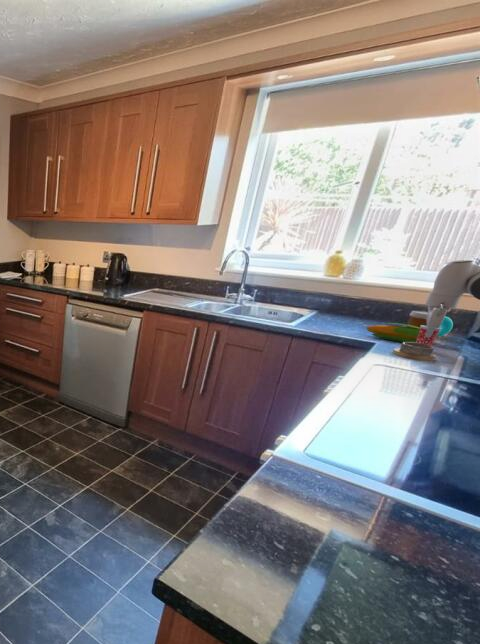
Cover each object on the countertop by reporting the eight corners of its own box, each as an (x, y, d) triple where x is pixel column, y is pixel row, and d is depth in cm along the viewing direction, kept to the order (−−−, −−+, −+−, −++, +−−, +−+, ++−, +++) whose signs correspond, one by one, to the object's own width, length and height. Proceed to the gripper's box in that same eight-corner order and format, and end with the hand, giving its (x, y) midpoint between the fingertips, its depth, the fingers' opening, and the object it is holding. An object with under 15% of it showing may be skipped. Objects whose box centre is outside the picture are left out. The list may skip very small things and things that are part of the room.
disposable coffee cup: (431, 342, 187) (444, 316, 182) (402, 339, 192) (414, 313, 187) (425, 338, 194) (436, 312, 190) (397, 334, 199) (408, 309, 195)
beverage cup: (413, 345, 181) (428, 312, 176) (434, 348, 176) (449, 315, 171) (409, 347, 178) (423, 314, 172) (430, 350, 173) (445, 317, 168)
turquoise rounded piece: (419, 335, 199) (429, 314, 195) (410, 331, 207) (419, 311, 204) (448, 338, 195) (458, 317, 191) (437, 334, 203) (446, 313, 200)
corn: (430, 328, 178) (368, 319, 191) (422, 346, 180) (361, 336, 194) (431, 327, 183) (370, 318, 196) (423, 344, 185) (363, 334, 199)
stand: (434, 356, 167) (439, 345, 165) (435, 363, 159) (440, 351, 157) (393, 349, 174) (397, 339, 173) (391, 355, 167) (396, 344, 165)
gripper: (454, 306, 161) (439, 341, 166) (452, 300, 174) (437, 332, 179) (431, 303, 165) (416, 338, 170) (430, 298, 178) (416, 329, 184)
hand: (427, 335), depth 175 cm, fingers closed on beverage cup, 6 cm apart
